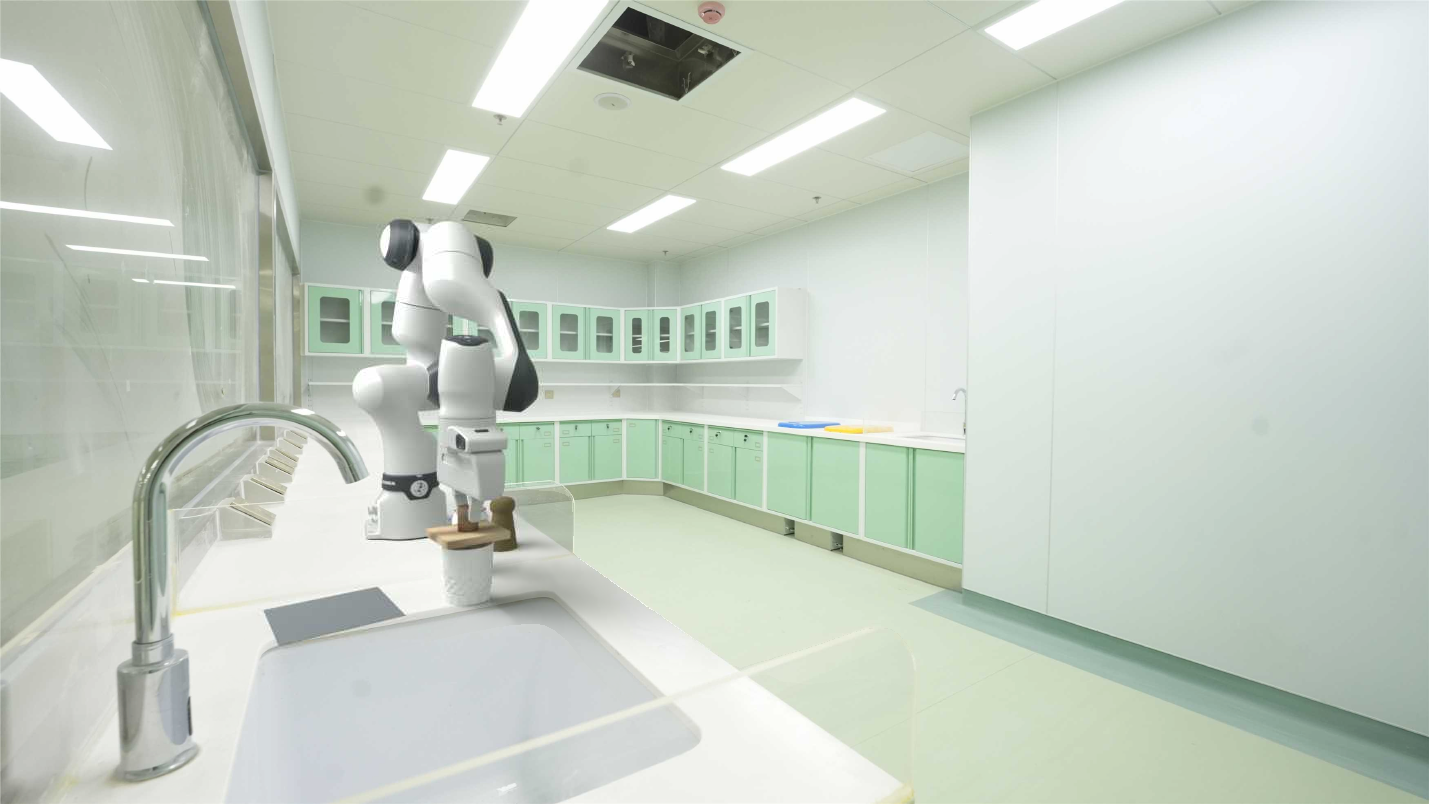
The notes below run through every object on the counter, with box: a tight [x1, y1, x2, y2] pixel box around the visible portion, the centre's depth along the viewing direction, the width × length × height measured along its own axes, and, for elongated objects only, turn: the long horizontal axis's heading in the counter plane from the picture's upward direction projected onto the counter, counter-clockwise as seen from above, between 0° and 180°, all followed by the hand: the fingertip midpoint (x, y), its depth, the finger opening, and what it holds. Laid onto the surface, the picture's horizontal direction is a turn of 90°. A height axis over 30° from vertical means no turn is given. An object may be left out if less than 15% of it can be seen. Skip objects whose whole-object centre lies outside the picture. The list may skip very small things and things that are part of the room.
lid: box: [426, 506, 510, 550], centre depth 101 cm, size 10×10×5 cm
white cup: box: [441, 541, 494, 607], centre depth 102 cm, size 8×8×10 cm
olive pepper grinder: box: [489, 495, 518, 553], centre depth 132 cm, size 6×6×11 cm
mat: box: [263, 586, 406, 647], centre depth 95 cm, size 16×16×1 cm
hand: (468, 518), depth 101 cm, fingers open, 3 cm apart
